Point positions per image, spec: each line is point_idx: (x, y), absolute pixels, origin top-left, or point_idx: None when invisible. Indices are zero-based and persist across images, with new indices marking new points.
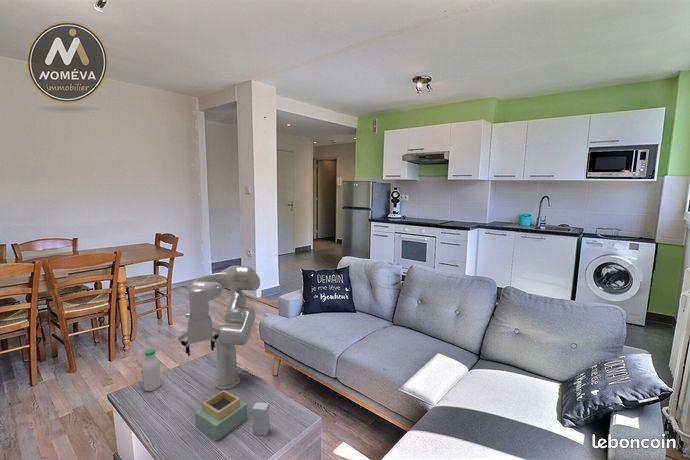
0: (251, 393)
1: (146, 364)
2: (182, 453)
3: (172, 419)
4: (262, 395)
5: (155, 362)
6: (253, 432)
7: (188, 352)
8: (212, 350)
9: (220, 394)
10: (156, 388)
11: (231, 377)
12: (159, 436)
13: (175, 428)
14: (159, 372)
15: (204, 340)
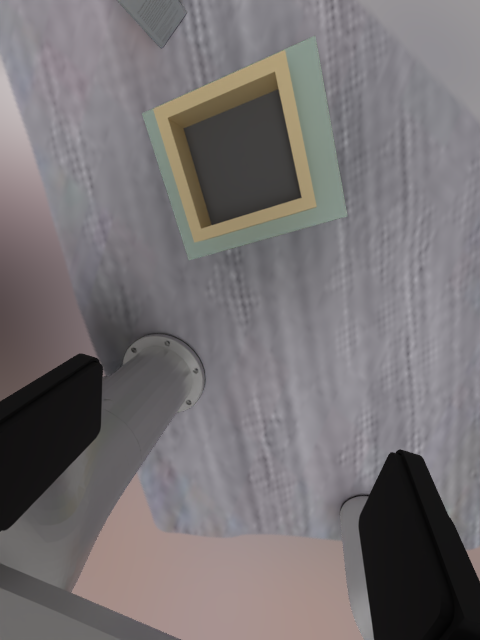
0: (117, 261)
1: None
2: (443, 94)
3: (385, 315)
4: (88, 223)
5: None
6: (181, 4)
7: (435, 499)
8: (94, 357)
9: (218, 223)
10: (361, 497)
11: (142, 358)
12: (462, 256)
13: (398, 260)
14: (352, 552)
15: (1, 589)
